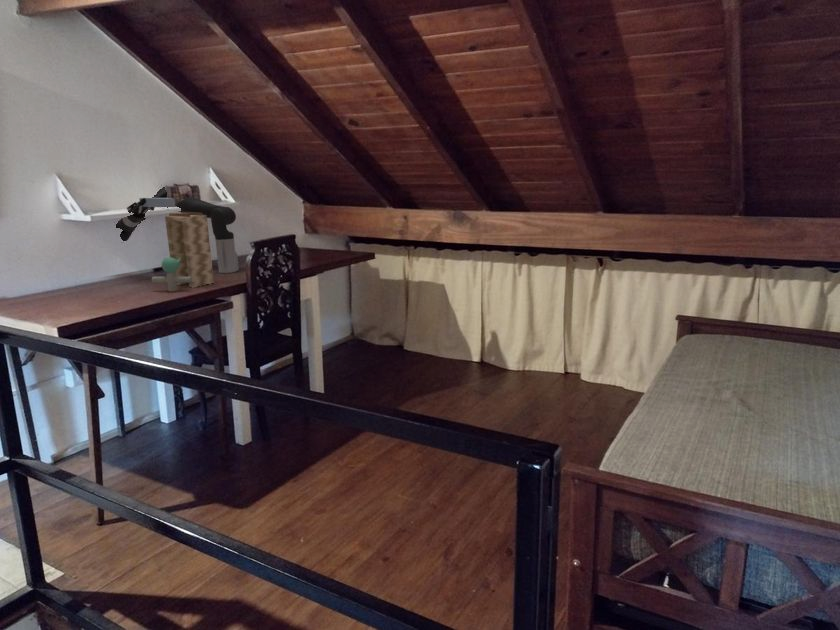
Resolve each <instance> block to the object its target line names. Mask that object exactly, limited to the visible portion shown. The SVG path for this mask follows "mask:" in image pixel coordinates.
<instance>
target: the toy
mask: <svg viewBox="0 0 840 630" xmlns="http://www.w3.org/2000/svg"><path fill="white" fill-rule="evenodd" d="M180 261H181V258H179V260H176V259H174V258H170V256H169V257H164V258H163V260H162V261H161V268H162V270H163V271H164V272H165V273H166V275H165V276H152V277H151V283H167V291H168V292H177V291H179V290H178V289H179V288H178V286H177V283H187V284H189V283H191V282H192V277H176V273H175V271H176V270H177V269H178V267H179V265H180Z"/></svg>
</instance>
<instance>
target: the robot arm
mask: <svg viewBox="0 0 840 630" xmlns="http://www.w3.org/2000/svg"><path fill="white" fill-rule="evenodd" d="M166 197H167V192H166V190H165V187H163V188H162V189H160V190H159V191H158V192H157V194H156V195H154V197H152V198H166ZM142 198H143V199H142V200H141V201H140V200H139V201H138V202H132V204H130V205H129V206H127V207H126V211H128V212H129V213H131V212H132V213H134V214H133V215H130V216H127V217H124V218H122V217H121V219H119V220H117V221H118V223H117V224H116V228H120V229H122V230H123V231H122V232H121V234H120V237H121V239H122V240H123V241H126V242H127V241H128V240H129V239H130V238H131V236H132V234H133V233H134V231H135V230H136V229H137V228H138V227H137V225H138V224H140V223H141V221H143V220H145V219H146V218H144V217H145V213H146V212H147V211H148V210H150V212H151V211H155V208H156V207H142V205H144V204H145V203H146V199H145V198H146V197H142ZM176 206H177V207H179V208H181V211H178V212H179V213H181V212H192V213H202V214H203V215H207V219H210V221H211V227H212V234H213V235H214V238H215V249H216V258H217V268H218V273H221V274H230V273H236V272H237V271H239V260H238V253H237V252H236V245H235V238H234V237H235V233H233V232H232V231H229V230H228V228H227V226H229V225H232V224H233V223H234V222H235V221H236V219H237V216H236V212H235V211H234V210H233V208H231V207H229V206H224V205H223V206H222V205H219V204H217V205H216V204H215V203H214V204H213V203H211V202H208V201H206V200H205V201H204V200H202V199H199V198H195V197H193V196H192V197H191V196H187V197H185V198H183V199H181V200H180V201H179V202H178V203H177V205H176ZM146 220H147V219H146ZM146 220H145V221H146ZM136 227H137V228H136ZM135 228H136V229H135ZM132 232H133V233H132Z"/></svg>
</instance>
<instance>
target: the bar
mask: <svg viewBox="0 0 840 630" xmlns="http://www.w3.org/2000/svg"><path fill="white" fill-rule="evenodd" d="M143 198H145V199H146V203H145V204H144V205H142V207H155V208H161V207H167V208H168V207H175V199H176V198H175V197H174V198H175V199H174V198H147V197H140V198H139V199H138V200H139V201H141V200H142V199H143Z"/></svg>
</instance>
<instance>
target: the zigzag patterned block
mask: <svg viewBox="0 0 840 630" xmlns="http://www.w3.org/2000/svg"><path fill="white" fill-rule="evenodd" d="M164 218H165V219H164V220H165V228H166V235H167V243H168V252H169V257H170V258H174V259H176V260H179V258H181V261H180V265H179V267H178V269H177V270H176V271H175V273H176V277H192V282H191V283H188V285H189V288H190V287H192V288H191V289H194V288H193V287H195V288H198V287H197V286H200V287H203V286H202V285H204V286H207V285H206V284H209V285H212V284H211V283H214V284H215V281H214V271H213V263H212V253H211V244H210V234H209V225H208V223H209V222H208V218H207V215H203V214H202V213H192V212H180V213H168V216H165V217H164ZM181 284H182V285H187V284H186V283H177V285H178V286H182V285H181Z"/></svg>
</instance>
